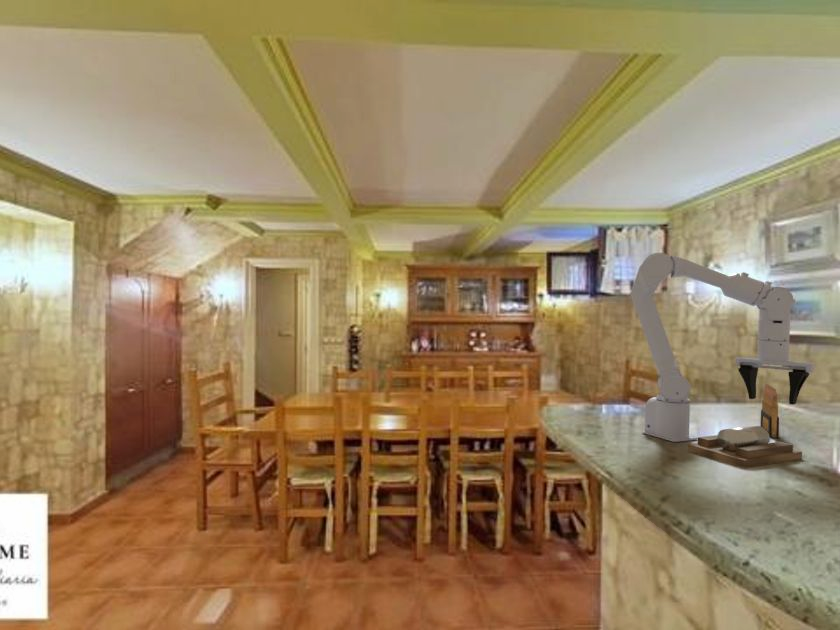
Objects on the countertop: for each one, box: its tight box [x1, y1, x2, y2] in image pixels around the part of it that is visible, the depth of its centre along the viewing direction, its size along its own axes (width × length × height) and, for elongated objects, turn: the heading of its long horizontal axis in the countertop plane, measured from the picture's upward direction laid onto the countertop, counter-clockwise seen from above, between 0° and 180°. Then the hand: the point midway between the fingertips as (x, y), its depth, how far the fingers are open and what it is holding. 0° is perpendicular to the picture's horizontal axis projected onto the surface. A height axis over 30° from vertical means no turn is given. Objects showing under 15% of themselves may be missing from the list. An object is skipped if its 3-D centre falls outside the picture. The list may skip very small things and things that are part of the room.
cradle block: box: [688, 434, 803, 469], centre depth 104 cm, size 12×18×3 cm, turn 113°
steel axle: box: [716, 425, 771, 451], centre depth 103 cm, size 4×10×4 cm
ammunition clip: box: [759, 383, 780, 439], centre depth 124 cm, size 11×2×12 cm, turn 155°
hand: (771, 401), depth 110 cm, fingers open, 7 cm apart
